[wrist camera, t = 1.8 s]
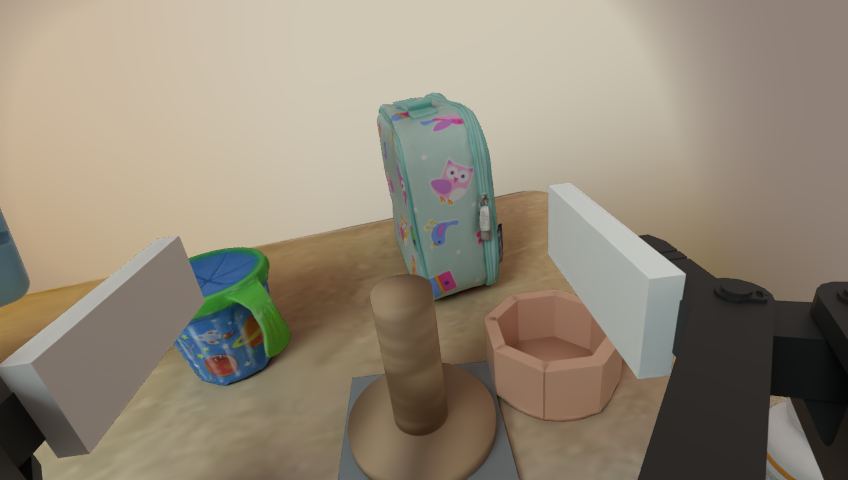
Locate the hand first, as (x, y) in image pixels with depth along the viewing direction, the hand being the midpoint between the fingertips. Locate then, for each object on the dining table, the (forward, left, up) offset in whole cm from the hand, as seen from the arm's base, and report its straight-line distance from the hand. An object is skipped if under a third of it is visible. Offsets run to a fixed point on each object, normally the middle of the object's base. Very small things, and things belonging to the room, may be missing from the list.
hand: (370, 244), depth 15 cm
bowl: (+11, +13, -20) cm, 27 cm away
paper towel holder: (0, +9, -20) cm, 22 cm away
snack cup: (-18, +20, -20) cm, 34 cm away
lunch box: (+4, +36, -20) cm, 42 cm away
